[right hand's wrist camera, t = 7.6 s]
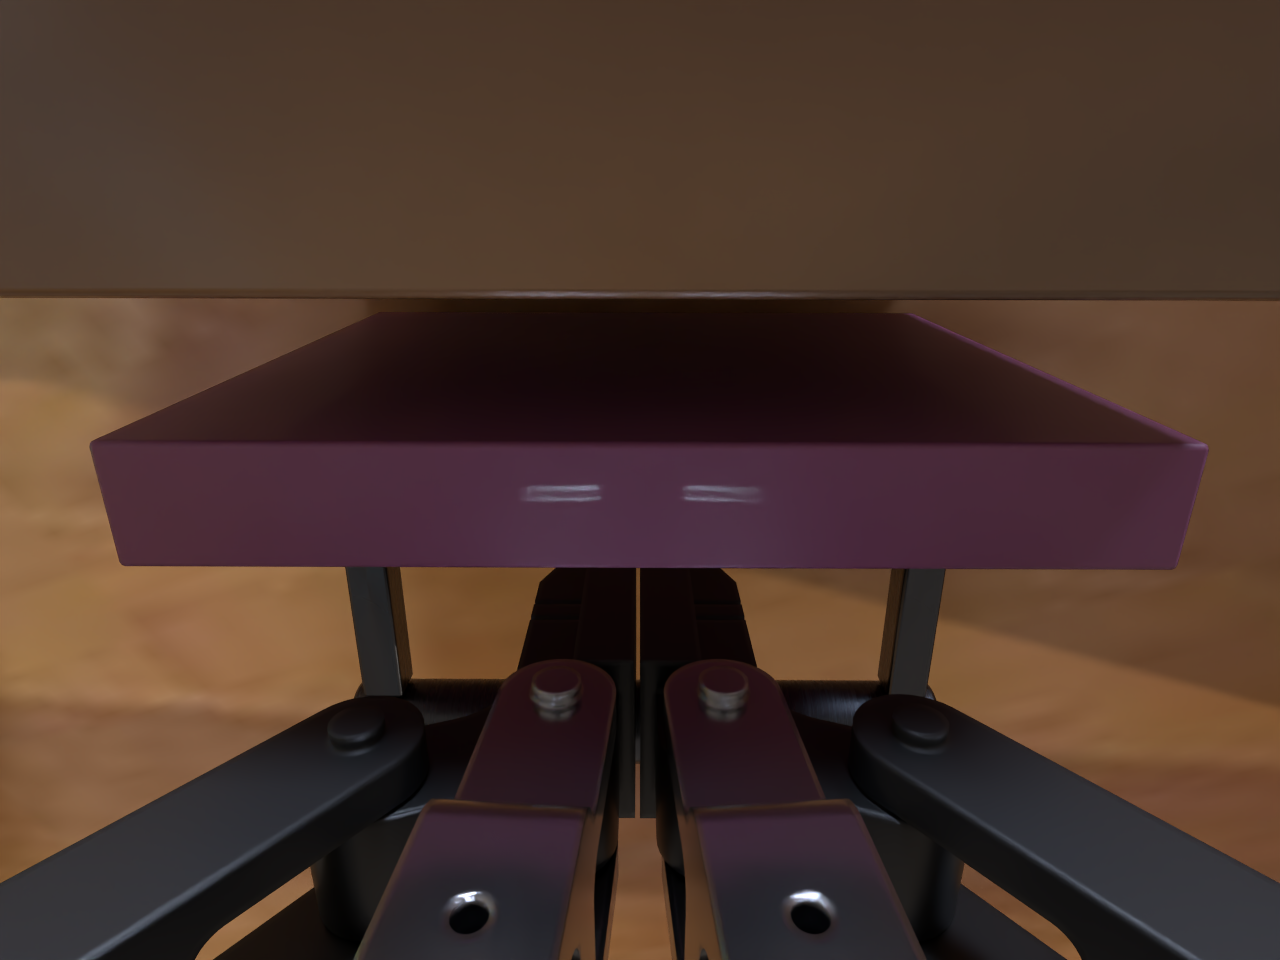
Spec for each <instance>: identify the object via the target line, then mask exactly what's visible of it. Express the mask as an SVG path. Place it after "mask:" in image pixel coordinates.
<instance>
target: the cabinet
mask: <svg viewBox="0 0 1280 960" xmlns="http://www.w3.org/2000/svg"><path fill="white" fill-rule="evenodd" d="M0 298H330V299H775V300H1221V301H1280V0H0Z"/></svg>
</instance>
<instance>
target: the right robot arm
mask: <svg viewBox="0 0 1280 960" xmlns="http://www.w3.org/2000/svg"><path fill="white" fill-rule="evenodd" d="M635 743H636V568H555V569H554V570H553V571H552V572H551V573H550V574H549V575H547V576H546V577H545V578H544V579H543V580H542V581H541V582H540V584H539V588H538V592H537V595H536V599H535V604H534V607H533V611H532V615H531V620H530V622H529V626H528V630H527V634H526V638H525V642H524V646H523V649H522V653H521V657H520V661H519V665H518V669H517V671H516V672H514V673H513V674H511V675H510V676H509V677H508V678H507V679H506V680H505V681H504V682H503V683H502V685H501V686H500V688H499V690H498V693H497V695H496V698H495V700H494V702H493V704H492V705H490V706H488V707H487V708H484V709H482V710H480V711H478V712H476V713H473V714H470V715H468V716H464V717H460V718H457V719H452V720H448V721H443V722H438V723H434V724H429V725H425V723H424V718H423V715H422V713H421V712H420V710H419V709H418V708H417V707H416V706H415V705H413V704H412V703H410V702H408V701H406V700H403V699H400V698H397V697H391V696H365V697H359V698H354V699H350V700H346V701H343V702H340V703H337V704H335V705H332V706H330V707H328V708H326V709H324V710H322V711H320V712H318V713H316V714H314V715H313V716H311V717H309V718H307V719H305V720H303V721H301V722H300V723H298V724H296V725H294V726H292V727H290V728H288V729H287V730H285V731H283V732H281V733H279V734H277V735H275V736H273V737H272V738H270V739H268V740H266V741H264V742H262V743H260V744H259V745H257V746H255V747H253V748H251V749H249V750H247V751H246V752H244V753H242V754H240V755H238V756H236V757H234V758H233V759H231V760H229V761H227V762H225V763H223V764H221V765H220V766H218V767H216V768H214V769H212V770H210V771H208V772H207V773H205V774H203V775H201V776H199V777H197V778H195V779H194V780H192V781H190V782H188V783H186V784H184V785H182V786H180V787H179V788H177V789H175V790H173V791H171V792H169V793H167V794H166V795H164V796H162V797H160V798H158V799H156V800H154V801H153V802H151V803H149V804H147V805H145V806H143V807H141V808H140V809H138V810H136V811H134V812H132V813H130V814H128V815H127V816H125V817H123V818H121V819H119V820H117V821H115V822H114V823H112V824H110V825H108V826H106V827H104V828H102V829H100V830H99V831H97V832H95V833H93V834H91V835H89V836H87V837H86V838H84V839H82V840H80V841H78V842H76V843H74V844H73V845H71V846H69V847H67V848H65V849H63V850H61V851H60V852H58V853H56V854H54V855H52V856H50V857H48V858H47V859H45V860H43V861H41V862H39V863H37V864H35V865H34V866H32V867H30V868H28V869H26V870H24V871H22V872H21V873H19V874H17V875H15V876H13V877H11V878H9V879H7V880H6V881H4V882H2V883H0V960H195V958H196V957H197V955H198V953H199V951H200V950H201V949H202V947H203V946H204V945H205V943H206V942H207V941H208V940H209V939H210V938H211V937H212V936H213V935H214V934H215V933H216V932H217V931H218V930H219V929H221V928H222V927H223V926H225V925H226V924H227V923H229V922H230V921H232V920H233V919H235V918H236V917H237V916H239V915H240V914H242V913H243V912H245V911H246V910H248V909H249V908H250V907H252V906H253V905H255V904H256V903H258V902H259V901H261V900H262V899H263V898H265V897H266V896H268V895H269V894H271V893H272V892H274V891H275V890H277V889H278V888H279V887H281V886H282V885H284V884H285V883H287V882H288V881H290V880H291V879H292V878H294V877H295V876H297V875H298V874H300V873H301V872H303V871H304V870H305V869H307V868H308V867H310V868H311V873H312V878H313V883H314V888H312V889H311V890H310V891H308V892H307V893H305V894H304V895H303V896H301V897H300V898H298V899H297V900H296V901H294V902H293V903H291V904H290V905H289V906H287V907H286V908H284V909H283V910H282V911H280V912H279V913H277V914H276V915H275V916H273V917H272V918H270V919H269V920H268V921H266V922H265V923H264V924H262V925H261V926H259V927H258V928H257V929H255V930H254V931H252V932H251V933H250V934H248V935H247V936H245V937H244V938H243V939H241V940H240V941H238V942H237V943H236V944H234V945H233V946H231V947H230V948H229V949H227V950H226V951H224V952H223V953H222V954H220V955H219V956H217V957H216V958H215V959H213V960H608V955H609V947H610V939H611V930H612V922H613V914H614V906H615V898H616V890H617V881H618V824H619V818H635ZM640 818H656V836H657V845H658V848H659V851H660V853H661V855H662V881H663V890H664V898H665V906H666V914H667V922H668V930H669V939H670V947H671V955H672V960H1067V959H1065V958H1064V957H1063V956H1061V955H1060V954H1058V953H1057V952H1056V951H1054V950H1053V949H1051V948H1050V947H1049V946H1047V945H1046V944H1044V943H1043V942H1042V941H1040V940H1039V939H1037V938H1036V937H1035V936H1033V935H1032V934H1030V933H1029V932H1028V931H1026V930H1025V929H1023V928H1022V927H1021V926H1019V925H1018V924H1016V923H1015V922H1014V921H1012V920H1011V919H1009V918H1008V917H1007V916H1005V915H1004V914H1003V913H1001V912H1000V911H998V910H997V909H996V908H994V907H993V906H991V905H990V904H989V903H987V902H986V901H984V900H983V899H982V898H980V897H979V896H977V895H976V894H975V893H973V892H972V891H970V890H969V889H968V888H966V887H965V886H963V885H962V884H961V878H962V873H963V868H964V863H966V864H967V865H969V866H970V867H972V868H973V869H975V870H976V871H977V872H979V873H980V874H982V875H983V876H985V877H986V878H988V879H989V880H990V881H992V882H993V883H995V884H996V885H998V886H999V887H1001V888H1002V889H1003V890H1005V891H1006V892H1008V893H1009V894H1011V895H1012V896H1014V897H1015V898H1016V899H1018V900H1019V901H1021V902H1022V903H1024V904H1025V905H1027V906H1028V907H1029V908H1031V909H1032V910H1034V911H1035V912H1037V913H1038V914H1040V915H1041V916H1042V917H1044V918H1045V919H1047V920H1048V921H1050V922H1051V923H1052V924H1054V925H1055V926H1056V927H1057V928H1059V929H1060V930H1061V931H1062V932H1063V933H1064V934H1065V935H1066V936H1067V937H1068V939H1069V940H1070V941H1071V942H1072V944H1073V945H1074V946H1075V948H1076V949H1077V951H1078V953H1079V955H1080V956H1081V959H1082V960H1280V883H1278V882H1276V881H1274V880H1272V879H1271V878H1269V877H1267V876H1265V875H1263V874H1261V873H1259V872H1258V871H1256V870H1254V869H1252V868H1250V867H1248V866H1246V865H1245V864H1243V863H1241V862H1239V861H1237V860H1235V859H1233V858H1232V857H1230V856H1228V855H1226V854H1224V853H1222V852H1220V851H1219V850H1217V849H1215V848H1213V847H1211V846H1209V845H1207V844H1206V843H1204V842H1202V841H1200V840H1198V839H1196V838H1194V837H1192V836H1191V835H1189V834H1187V833H1185V832H1183V831H1181V830H1179V829H1178V828H1176V827H1174V826H1172V825H1170V824H1168V823H1166V822H1165V821H1163V820H1161V819H1159V818H1157V817H1155V816H1153V815H1152V814H1150V813H1148V812H1146V811H1144V810H1142V809H1140V808H1139V807H1137V806H1135V805H1133V804H1131V803H1129V802H1127V801H1126V800H1124V799H1122V798H1120V797H1118V796H1116V795H1114V794H1113V793H1111V792H1109V791H1107V790H1105V789H1103V788H1101V787H1099V786H1098V785H1096V784H1094V783H1092V782H1090V781H1088V780H1086V779H1085V778H1083V777H1081V776H1079V775H1077V774H1075V773H1073V772H1072V771H1070V770H1068V769H1066V768H1064V767H1062V766H1060V765H1059V764H1057V763H1055V762H1053V761H1051V760H1049V759H1047V758H1046V757H1044V756H1042V755H1040V754H1038V753H1036V752H1034V751H1033V750H1031V749H1029V748H1027V747H1025V746H1023V745H1021V744H1020V743H1018V742H1016V741H1014V740H1012V739H1010V738H1008V737H1006V736H1005V735H1003V734H1001V733H999V732H997V731H995V730H993V729H992V728H990V727H988V726H986V725H984V724H982V723H980V722H979V721H977V720H975V719H973V718H971V717H969V716H967V715H966V714H964V713H962V712H960V711H958V710H956V709H954V708H952V707H950V706H948V705H946V704H944V703H941V702H939V701H936V700H933V699H929V698H926V697H922V696H916V695H908V694H889V695H883V696H878V697H875V698H872V699H870V700H868V701H866V702H864V703H863V704H862V705H861V706H859V708H858V709H857V710H856V712H855V714H854V717H853V722H852V726H849V725H844V724H839V723H835V722H830V721H826V720H821V719H817V718H813V717H809V716H806V715H803V714H801V713H798V712H796V711H794V710H792V709H790V708H789V707H788V705H787V702H786V700H785V698H784V695H783V693H782V690H781V688H780V686H779V685H778V683H777V682H776V681H775V680H774V679H773V678H772V677H771V676H770V675H769V674H767V673H766V672H764V671H763V670H761V669H759V668H757V665H756V661H755V657H754V653H753V649H752V645H751V641H750V637H749V633H748V629H747V625H746V621H745V620H744V613H743V609H742V605H741V601H740V597H739V593H738V589H737V585H736V582H735V581H734V580H733V579H732V578H731V577H729V576H728V575H727V574H726V573H725V572H724V571H723V570H722V569H721V568H640Z"/></svg>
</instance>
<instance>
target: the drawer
mask: <svg viewBox="0 0 1280 960" xmlns="http://www.w3.org/2000/svg"><path fill="white" fill-rule="evenodd" d="M90 451H91V454H92V458H93V462H94V466H95V470H96V474H97V477H98V481H99V485H100V489H101V493H102V496H103V500H104V504H105V508H106V512H107V516H108V519H109V523H110V527H111V531H112V535H113V538H114V542H115V546H116V550H117V554H118V557H119V561H120V563H121V564H122V565H124V566H262V567H345V568H346V575H347V582H348V589H349V595H350V602H351V609H352V616H353V622H354V629H355V636H356V643H357V650H358V656H359V663H360V670H361V677H362V683H361V684H360V686H359V687H358V689H357V692H356V694H355V697H354V698H359V697H365V696H391V697H397V698H400V699H403V700H406V701H408V702H410V703H412V704H413V705H415V706H416V707H417V708H418V709H419V710H420V712H421V713H422V715H423V718H424V723H425V725H429V724H434V723H438V722H443V721H448V720H452V719H457V718H460V717H464V716H468V715H470V714H473V713H476V712H478V711H480V710H482V709H484V708H487V707H488V706H490V705H492V704H493V702H494V700H495V698H496V695H497V693H498V690H499V688H500V686H501V685H502V683H503V682H504V681H505V680H506V679H411V677H412V675H413V672H412V664H411V655H410V647H409V639H408V631H407V622H406V614H405V606H404V597H403V589H402V581H401V572H400V567H554V568H846V569H892V570H891V577H890V585H889V593H888V601H887V608H886V616H885V624H884V631H883V639H882V647H881V654H880V662H879V670H878V678H879V680H880V681H854V680H775V681H776V682H777V683H778V685H779V686H780V688H781V690H782V693H783V695H784V698H785V700H786V702H787V705H788V707H789V708H790V709H792V710H794V711H796V712H798V713H801V714H803V715H806V716H809V717H813V718H817V719H821V720H826V721H830V722H835V723H839V724H844V725H849V726H852V722H853V717H854V714H855V712H856V710H857V709H858V708H859V706H861V705H862V704H863V703H864V702H866V701H868V700H870V699H872V698H875V697H878V696H883V695H889V694H908V695H916V696H922V697H926V698H929V699H933V700H936V698H935V696H934V693H933V691H932V689H931V688H930V686H929V685H928V678H929V672H930V665H931V659H932V653H933V646H934V640H935V634H936V627H937V621H938V615H939V608H940V602H941V596H942V589H943V583H944V577H945V570H946V569H1139V570H1172V569H1175V568H1176V566H1177V564H1178V560H1179V557H1180V553H1181V550H1182V546H1183V542H1184V539H1185V535H1186V531H1187V528H1188V524H1189V520H1190V517H1191V513H1192V510H1193V506H1194V502H1195V499H1196V495H1197V491H1198V488H1199V484H1200V480H1201V477H1202V473H1203V470H1204V466H1205V462H1206V459H1207V455H1208V451H1209V449H1208V445H1207V444H1205V443H1202V442H1200V441H1198V440H1196V439H1193V438H1191V437H1189V436H1187V435H1184V434H1182V433H1180V432H1178V431H1175V430H1173V429H1171V428H1169V427H1166V426H1164V425H1162V424H1160V423H1157V422H1155V421H1153V420H1151V419H1148V418H1146V417H1144V416H1142V415H1139V414H1137V413H1135V412H1133V411H1130V410H1128V409H1126V408H1124V407H1121V406H1119V405H1117V404H1115V403H1112V402H1110V401H1108V400H1106V399H1103V398H1101V397H1099V396H1097V395H1094V394H1092V393H1090V392H1088V391H1085V390H1083V389H1081V388H1079V387H1076V386H1074V385H1072V384H1070V383H1067V382H1065V381H1063V380H1061V379H1058V378H1056V377H1054V376H1052V375H1049V374H1047V373H1045V372H1043V371H1040V370H1038V369H1036V368H1034V367H1031V366H1029V365H1027V364H1025V363H1022V362H1020V361H1018V360H1016V359H1013V358H1011V357H1009V356H1007V355H1004V354H1002V353H1000V352H998V351H995V350H993V349H991V348H989V347H986V346H984V345H982V344H980V343H977V342H975V341H973V340H971V339H968V338H966V337H964V336H962V335H959V334H957V333H955V332H953V331H950V330H948V329H946V328H944V327H941V326H939V325H937V324H935V323H932V322H930V321H928V320H926V319H923V318H921V317H919V316H917V315H914V314H912V313H500V312H379V313H377V314H375V315H372V316H370V317H368V318H366V319H363V320H361V321H359V322H357V323H354V324H352V325H350V326H348V327H346V328H343V329H341V330H339V331H337V332H334V333H332V334H330V335H328V336H325V337H323V338H321V339H319V340H316V341H314V342H312V343H310V344H308V345H305V346H303V347H301V348H299V349H296V350H294V351H292V352H290V353H287V354H285V355H283V356H281V357H279V358H276V359H274V360H272V361H270V362H267V363H265V364H263V365H261V366H258V367H256V368H254V369H252V370H249V371H247V372H245V373H243V374H241V375H238V376H236V377H234V378H232V379H229V380H227V381H225V382H223V383H220V384H218V385H216V386H214V387H212V388H209V389H207V390H205V391H203V392H200V393H198V394H196V395H194V396H191V397H189V398H187V399H185V400H182V401H180V402H178V403H176V404H174V405H171V406H169V407H167V408H165V409H162V410H160V411H158V412H156V413H153V414H151V415H149V416H147V417H145V418H142V419H140V420H138V421H136V422H133V423H131V424H129V425H127V426H124V427H122V428H120V429H118V430H115V431H113V432H111V433H109V434H107V435H104V436H102V437H100V438H98V439H95V440H93V441H91V443H90ZM635 764H640V680H636V743H635Z"/></svg>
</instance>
